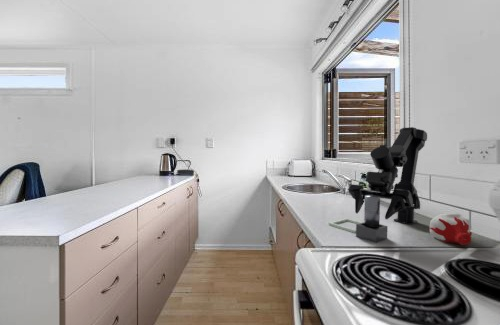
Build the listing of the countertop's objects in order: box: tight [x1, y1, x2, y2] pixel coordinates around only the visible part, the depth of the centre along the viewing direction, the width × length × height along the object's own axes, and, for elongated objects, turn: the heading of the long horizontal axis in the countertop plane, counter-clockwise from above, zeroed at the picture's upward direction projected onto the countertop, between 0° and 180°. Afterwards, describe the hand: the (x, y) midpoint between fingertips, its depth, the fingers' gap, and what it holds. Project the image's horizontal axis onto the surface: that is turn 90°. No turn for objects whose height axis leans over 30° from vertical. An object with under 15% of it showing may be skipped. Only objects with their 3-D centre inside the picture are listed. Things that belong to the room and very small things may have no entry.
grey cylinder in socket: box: [355, 195, 388, 244], centre depth 78 cm, size 7×7×14 cm
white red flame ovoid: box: [428, 212, 473, 246], centre depth 76 cm, size 9×11×15 cm
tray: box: [328, 218, 364, 234], centre depth 90 cm, size 11×11×2 cm
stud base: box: [354, 235, 388, 244], centre depth 78 cm, size 7×7×4 cm
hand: (370, 215), depth 77 cm, fingers open, 9 cm apart
